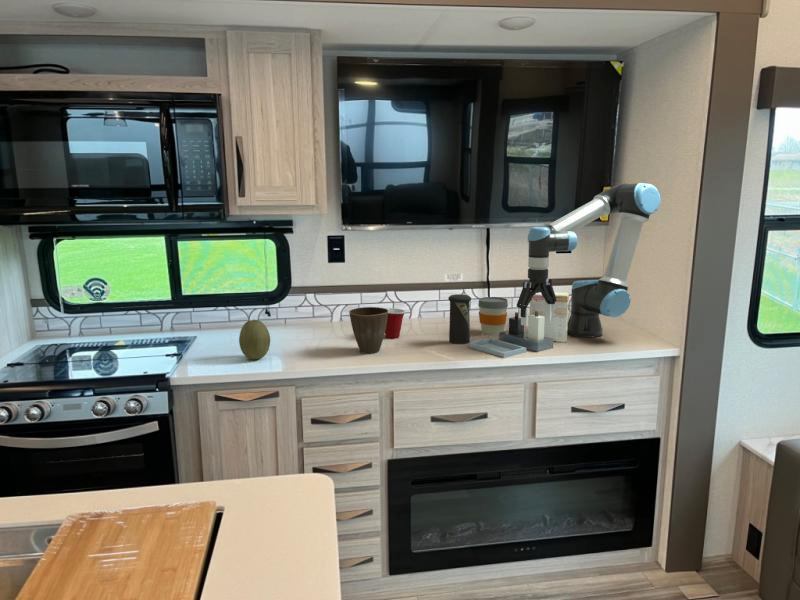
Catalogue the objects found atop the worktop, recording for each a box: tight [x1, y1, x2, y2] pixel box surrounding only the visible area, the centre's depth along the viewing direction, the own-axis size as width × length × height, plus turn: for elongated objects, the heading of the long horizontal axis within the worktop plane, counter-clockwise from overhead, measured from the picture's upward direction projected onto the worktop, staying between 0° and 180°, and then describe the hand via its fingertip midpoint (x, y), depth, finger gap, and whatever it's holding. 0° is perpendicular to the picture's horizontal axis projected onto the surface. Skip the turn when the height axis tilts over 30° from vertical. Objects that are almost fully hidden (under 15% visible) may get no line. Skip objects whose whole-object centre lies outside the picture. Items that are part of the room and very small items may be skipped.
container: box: [447, 293, 472, 345], centre depth 238 cm, size 9×9×20 cm
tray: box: [467, 337, 528, 359], centre depth 228 cm, size 12×19×2 cm, turn 37°
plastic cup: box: [384, 307, 406, 340], centre depth 250 cm, size 11×11×12 cm
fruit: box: [238, 319, 271, 361], centre depth 220 cm, size 11×11×15 cm
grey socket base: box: [498, 311, 554, 353], centre depth 233 cm, size 9×20×13 cm, turn 37°
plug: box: [527, 311, 545, 341], centre depth 229 cm, size 5×4×14 cm
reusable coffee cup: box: [477, 296, 509, 336], centre depth 254 cm, size 13×13×15 cm
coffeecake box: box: [528, 291, 570, 343], centre depth 244 cm, size 15×7×20 cm, turn 70°
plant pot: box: [348, 306, 388, 355], centre depth 229 cm, size 15×15×16 cm
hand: (536, 322), depth 229 cm, fingers open, 13 cm apart
